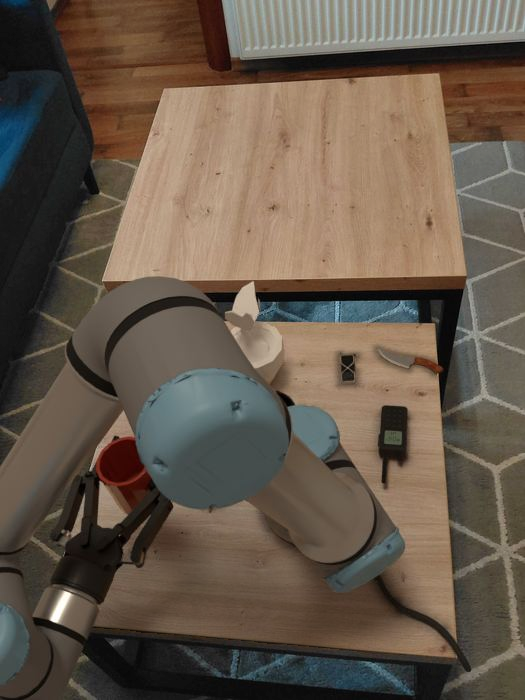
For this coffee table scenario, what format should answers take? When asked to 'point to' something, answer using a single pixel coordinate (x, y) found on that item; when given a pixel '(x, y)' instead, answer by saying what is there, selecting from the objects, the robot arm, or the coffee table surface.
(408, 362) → the knife
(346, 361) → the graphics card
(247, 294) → the potted plant
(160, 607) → the coffee table surface
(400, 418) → the walkie-talkie
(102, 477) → the red cup
